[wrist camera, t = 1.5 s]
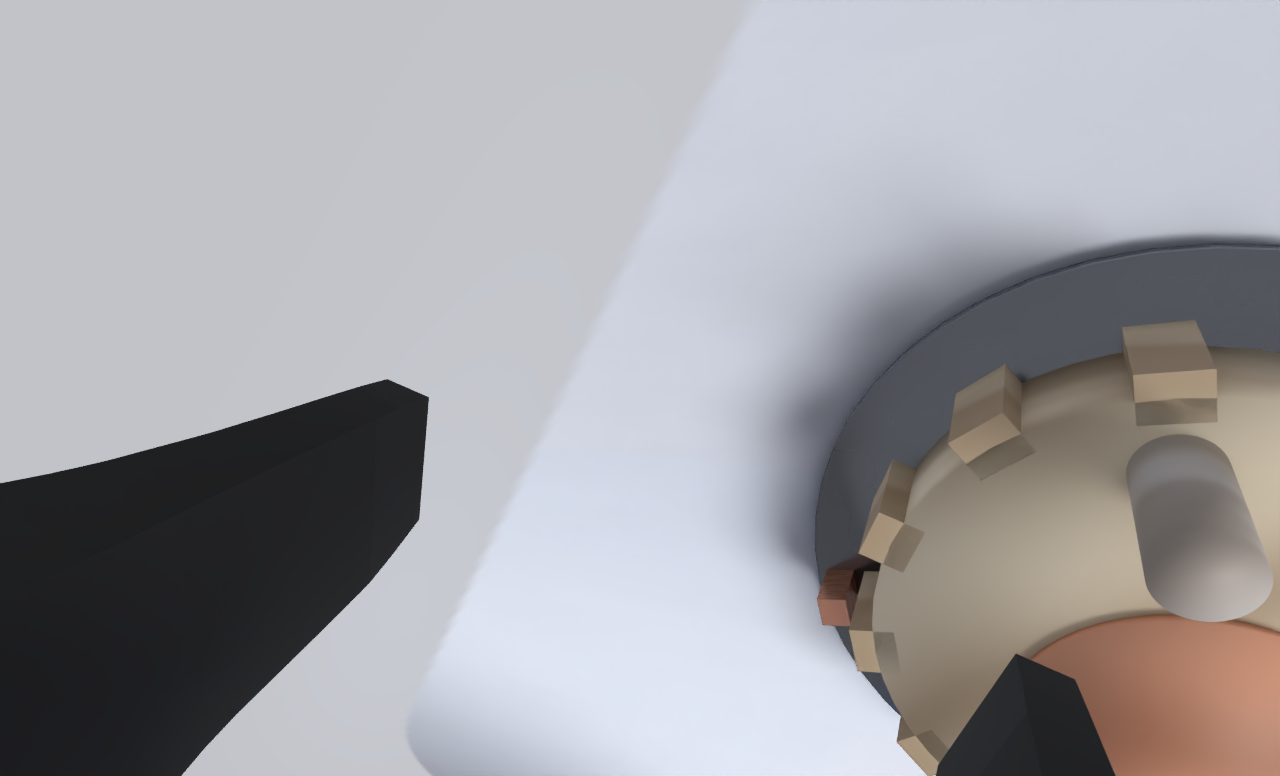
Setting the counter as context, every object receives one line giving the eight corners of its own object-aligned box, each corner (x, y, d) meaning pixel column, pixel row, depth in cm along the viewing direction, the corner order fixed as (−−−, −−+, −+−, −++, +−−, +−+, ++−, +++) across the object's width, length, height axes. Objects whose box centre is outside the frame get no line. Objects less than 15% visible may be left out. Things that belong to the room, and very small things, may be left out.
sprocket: (1752, 723, 15) (2033, 1028, 11) (1077, 864, 23) (1089, 1078, 18) (1317, 175, 14) (1441, 277, 10) (758, 512, 22) (692, 652, 17)
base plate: (1870, 727, 15) (1946, 798, 14) (1062, 886, 24) (1064, 937, 23) (1346, 54, 14) (1378, 65, 13) (697, 485, 23) (678, 516, 21)
